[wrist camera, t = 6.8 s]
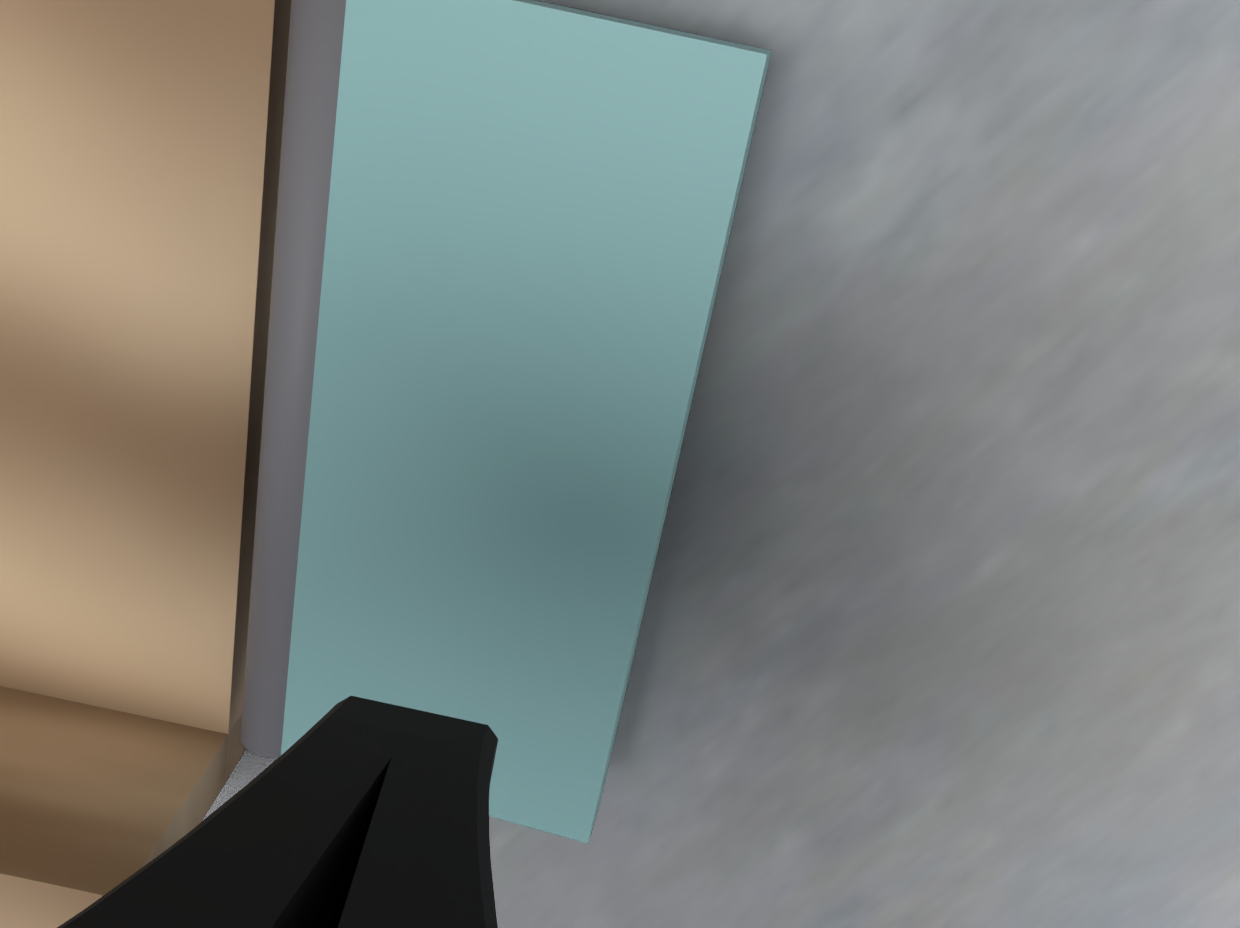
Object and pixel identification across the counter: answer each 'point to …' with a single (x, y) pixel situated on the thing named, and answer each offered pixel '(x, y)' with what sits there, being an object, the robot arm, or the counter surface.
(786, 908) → the counter surface
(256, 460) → the flatbed
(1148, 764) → the counter surface
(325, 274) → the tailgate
